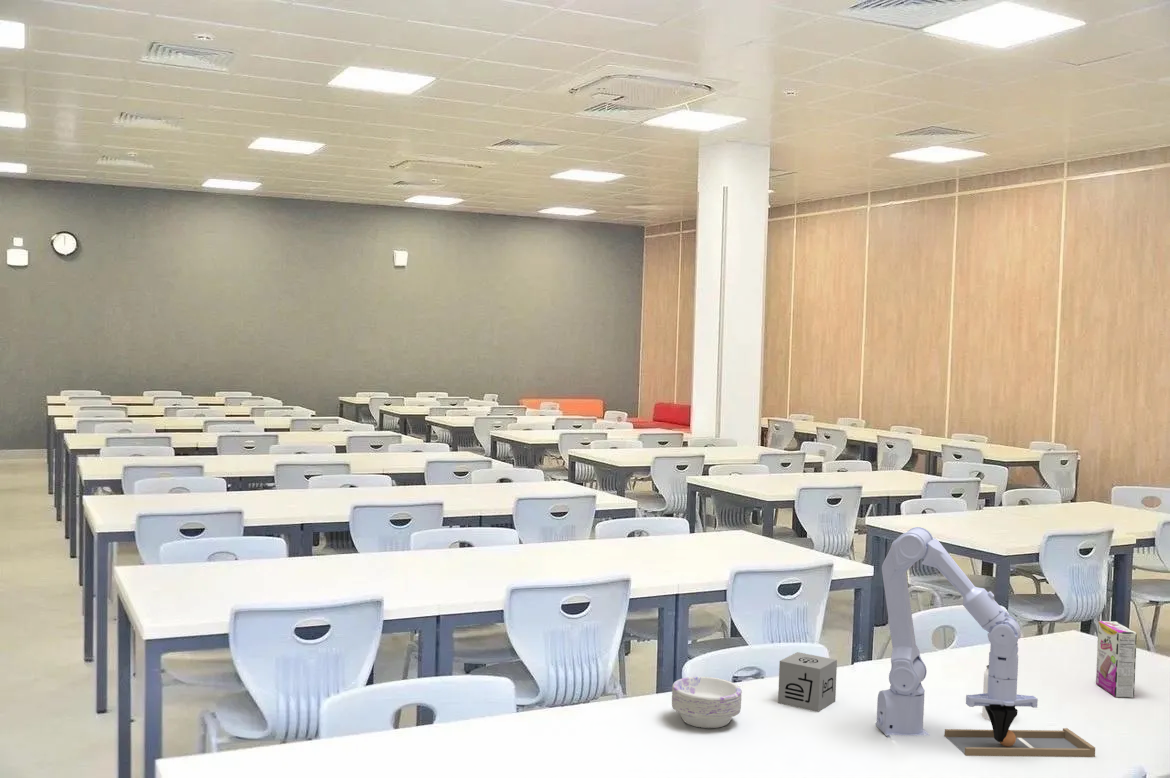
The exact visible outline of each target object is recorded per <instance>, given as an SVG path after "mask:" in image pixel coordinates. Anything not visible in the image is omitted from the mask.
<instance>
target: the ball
mask: <svg viewBox="0 0 1170 778" xmlns="http://www.w3.org/2000/svg"><path fill="white" fill-rule="evenodd" d="M1011 730H1012V729H1008V732H1007V735H1006V737H1005V738H1004V740H1003V742H1000V743H1001V744H1002V745H1003V746H1006V747H1010V746H1012V745H1014V743H1015V742H1016V736H1015V734H1014V733H1013V732H1012V731H1011Z"/></svg>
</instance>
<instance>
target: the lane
mask: <svg viewBox="0 0 1170 778" xmlns="http://www.w3.org/2000/svg"><path fill="white" fill-rule="evenodd" d="M1010 730H1011V731H1012V732H1013V733H1014V734H1015V736H1016V742H1015V743H1014V745H1012V746H1010V747H1006V746H1003V745H1002V744H1001V743H1000V742H998V741H997V740H995V739H994V732H993V729H971V728H970V729H967V728H966V729H960V728H959V729H955V728H949V729H947V728H945V729H944V737H945V738H946V739H947V740H948V741H949V742H950V743H952V744H953V745H954V746H955V747H956V748H957V749H958V750H959V751H960V752H962V754H964V756H967V757H968V756H969V757H970V756H971V757H975V756H976V757H977V756H978V757H1044V758H1045V757H1056V758H1057V757H1063V758H1064V757H1065V758H1067V757H1068V758H1076V757H1077V758H1095V757H1096V747H1095V746H1093V745H1092V744H1091V743H1089V742H1088V741H1086V739H1084V738H1082V737H1081V736H1079V735H1078V734H1076V733H1075V732H1074V731H1072V730H1071V729H1069V728H1067V727H1065V728H1062V730H1059V729H1057V730H1053V729H1052V730H1051V729H1048V730H1047V729H1046V730H1045V729H1044V730H1041V729H1039V730H1038V729H1035V730H1033V729H1026V730H1025V729H1010Z"/></svg>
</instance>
